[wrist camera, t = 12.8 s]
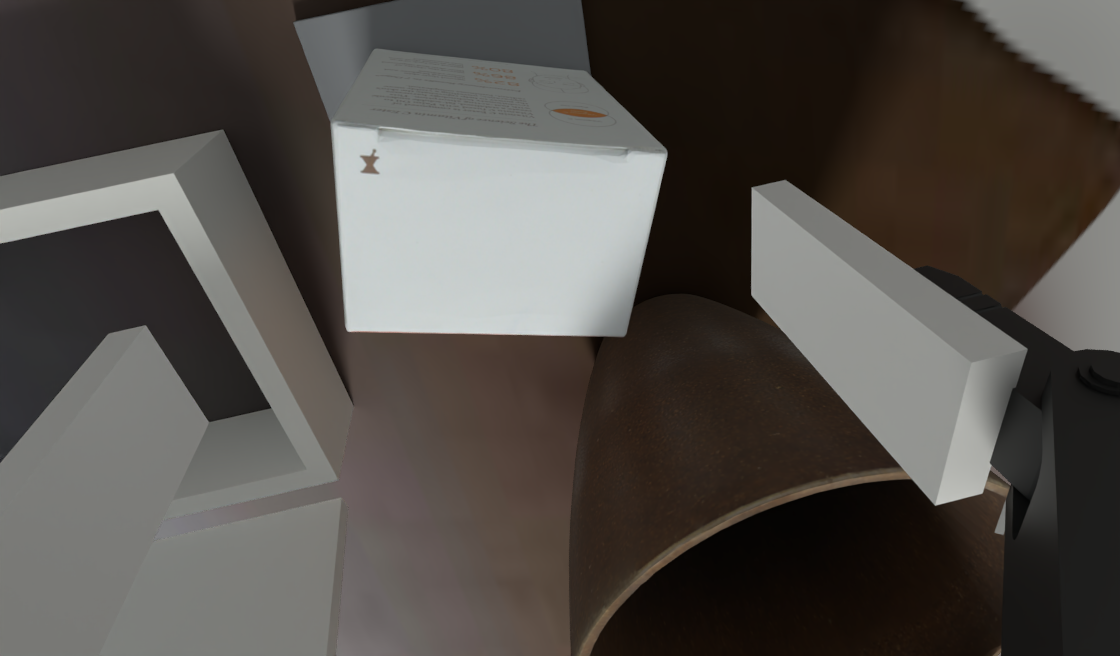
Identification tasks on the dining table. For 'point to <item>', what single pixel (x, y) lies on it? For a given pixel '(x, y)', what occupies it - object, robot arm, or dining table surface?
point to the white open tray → (235, 292)
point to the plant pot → (759, 509)
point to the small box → (489, 199)
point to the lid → (240, 589)
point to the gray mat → (442, 36)
